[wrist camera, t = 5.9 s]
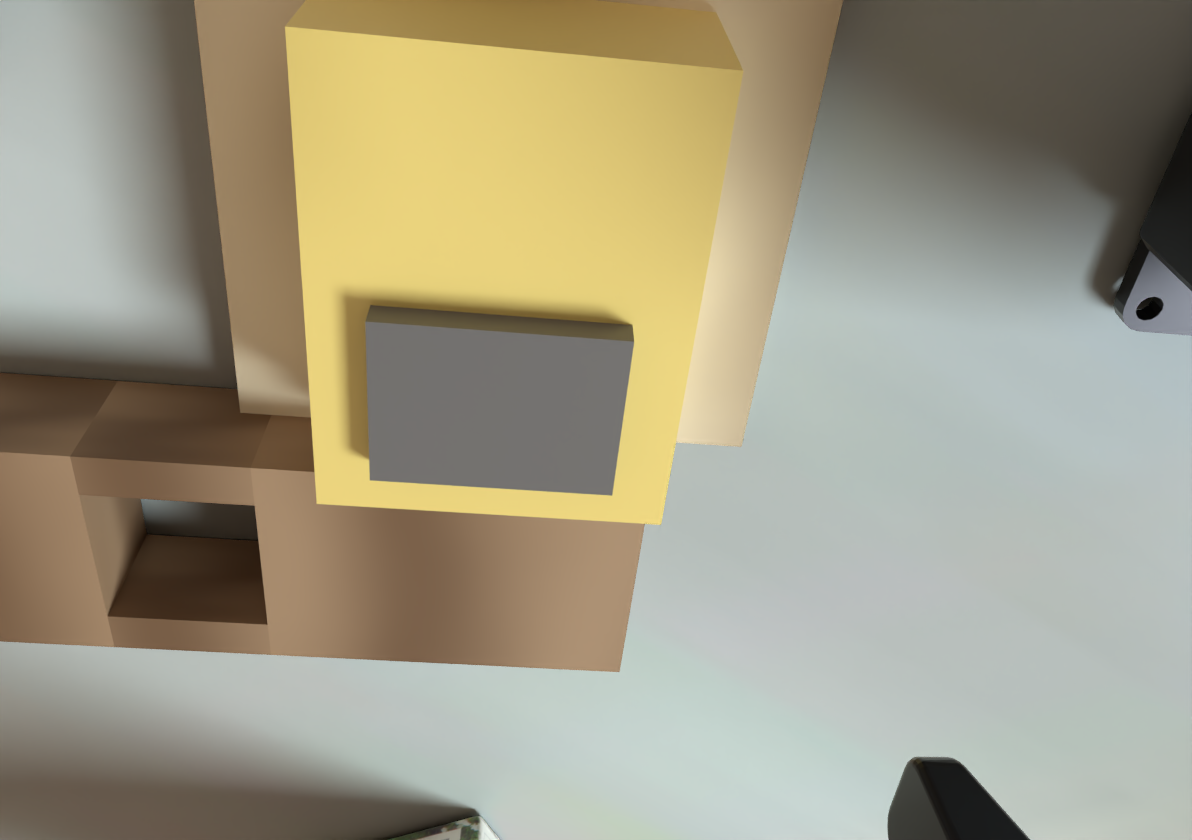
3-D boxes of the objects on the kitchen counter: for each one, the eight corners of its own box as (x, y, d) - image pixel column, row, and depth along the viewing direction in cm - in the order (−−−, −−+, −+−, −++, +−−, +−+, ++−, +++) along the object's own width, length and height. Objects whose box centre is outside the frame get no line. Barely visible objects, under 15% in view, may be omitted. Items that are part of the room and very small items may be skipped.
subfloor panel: (945, -527, 13) (966, -537, 13) (735, 423, 22) (741, 446, 21) (142, -645, 13) (119, -663, 12) (250, 389, 21) (240, 412, 20)
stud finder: (716, 12, 16) (749, 82, 14) (649, 425, 21) (663, 544, 18) (327, -28, 16) (275, 36, 13) (345, 405, 20) (311, 522, 18)
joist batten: (641, 417, 22) (649, 493, 20) (615, 589, 25) (619, 672, 23) (-113, 365, 21) (-187, 440, 19) (-49, 552, 23) (-108, 636, 21)
